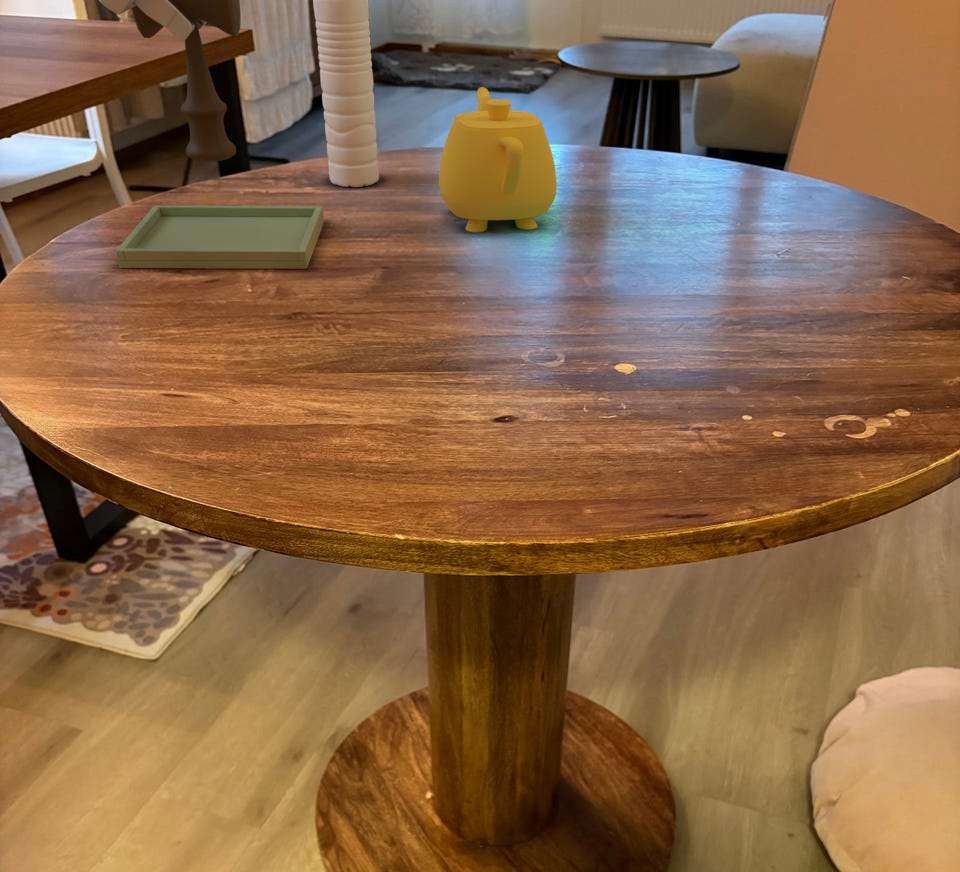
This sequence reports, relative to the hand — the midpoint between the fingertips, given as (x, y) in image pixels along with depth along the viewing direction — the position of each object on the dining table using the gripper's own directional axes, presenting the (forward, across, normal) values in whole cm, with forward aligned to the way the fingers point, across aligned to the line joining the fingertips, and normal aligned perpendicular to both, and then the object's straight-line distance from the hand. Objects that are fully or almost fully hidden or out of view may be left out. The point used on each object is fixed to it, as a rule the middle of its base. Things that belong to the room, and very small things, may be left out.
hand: (197, 28), depth 89 cm
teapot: (+35, +10, -7) cm, 37 cm away
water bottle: (+22, +24, +6) cm, 33 cm away
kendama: (+8, 0, +9) cm, 12 cm away
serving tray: (+14, 0, +14) cm, 20 cm away
